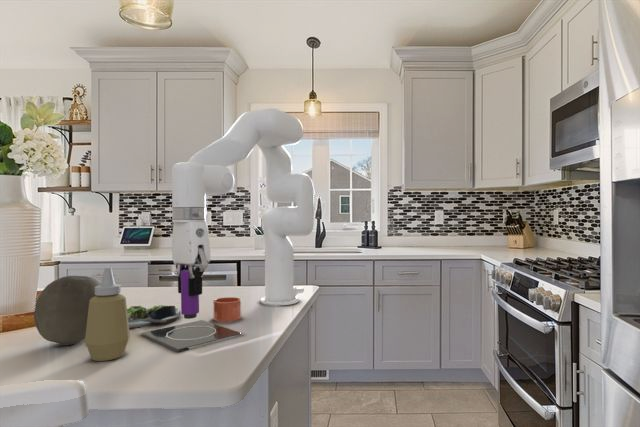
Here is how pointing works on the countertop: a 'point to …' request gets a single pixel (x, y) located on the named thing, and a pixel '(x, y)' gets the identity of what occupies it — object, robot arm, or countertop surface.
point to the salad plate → (152, 315)
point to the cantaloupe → (65, 309)
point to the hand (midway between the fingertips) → (190, 292)
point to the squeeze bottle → (107, 321)
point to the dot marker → (188, 298)
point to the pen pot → (227, 309)
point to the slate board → (189, 335)
